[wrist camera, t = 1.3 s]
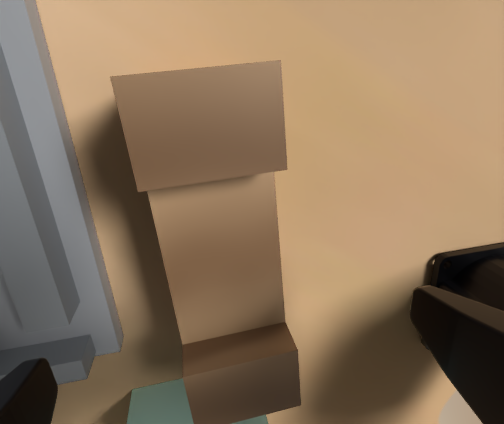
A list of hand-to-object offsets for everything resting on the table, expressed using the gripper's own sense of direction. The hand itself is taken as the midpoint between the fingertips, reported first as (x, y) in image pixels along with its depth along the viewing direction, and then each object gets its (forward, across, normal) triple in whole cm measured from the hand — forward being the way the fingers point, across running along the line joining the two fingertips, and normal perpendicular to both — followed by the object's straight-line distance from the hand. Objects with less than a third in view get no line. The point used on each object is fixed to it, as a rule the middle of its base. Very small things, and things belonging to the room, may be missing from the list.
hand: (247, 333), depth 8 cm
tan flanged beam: (+8, 0, 0) cm, 8 cm away
